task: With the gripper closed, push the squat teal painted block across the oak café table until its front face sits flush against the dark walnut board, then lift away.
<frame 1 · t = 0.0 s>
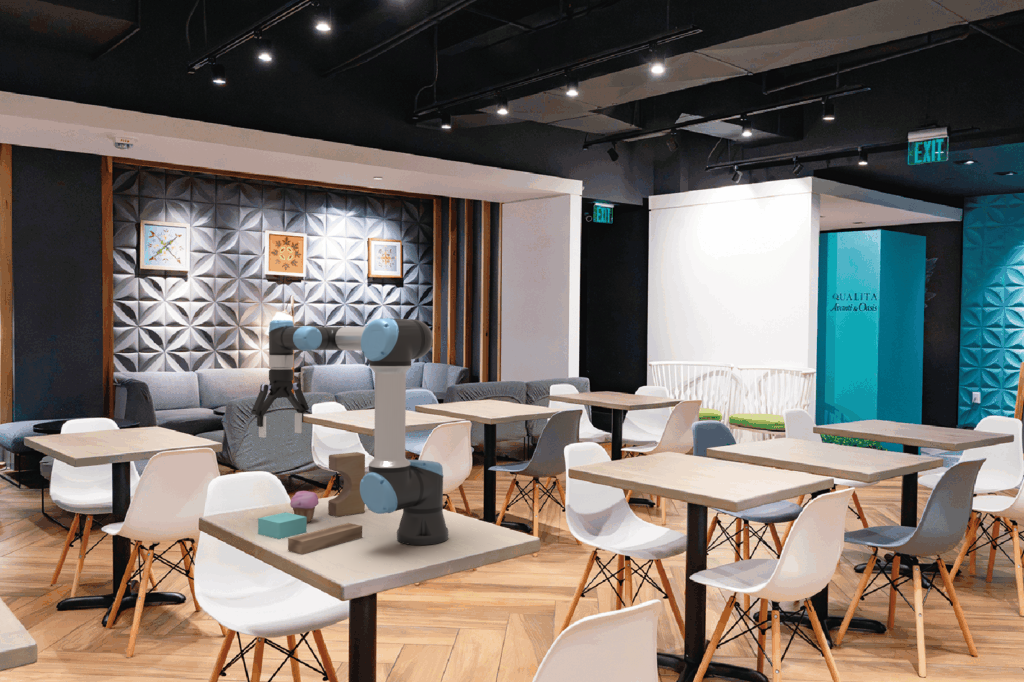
hand: (280, 435, 242), 28 cm above the table, fingers open, 13 cm apart
walnut board: (326, 543, 217), on the table
decorative block: (346, 514, 255), on the table
cupcake: (304, 522, 243), on the table
teal block: (282, 534, 229), on the table
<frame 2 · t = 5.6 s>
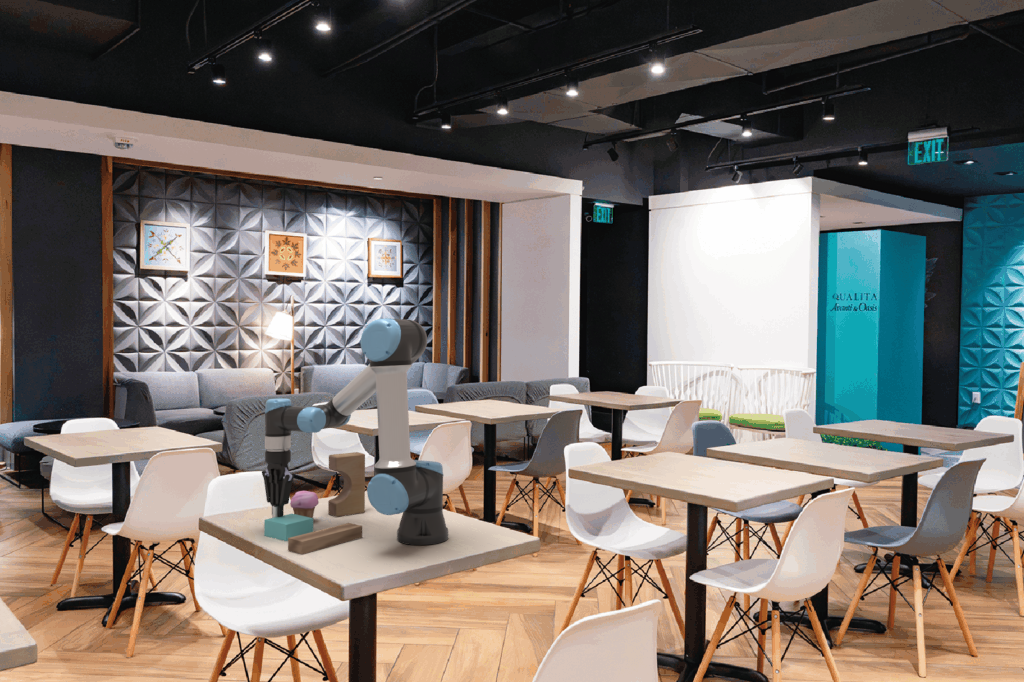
hand: (277, 526, 231), 1 cm above the table, fingers closed
teal block: (288, 535, 227), on the table, touching gripper
everything else where it was.
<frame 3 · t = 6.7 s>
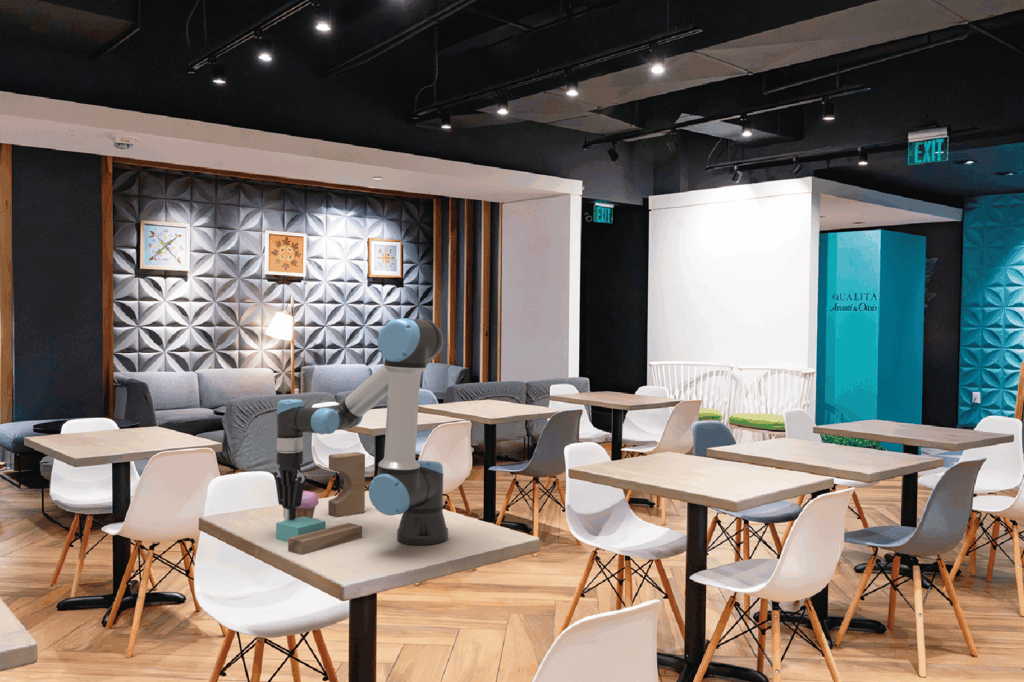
hand: (289, 529, 227), 2 cm above the table, fingers closed
teal block: (300, 538, 224), on the table
everything else where it was.
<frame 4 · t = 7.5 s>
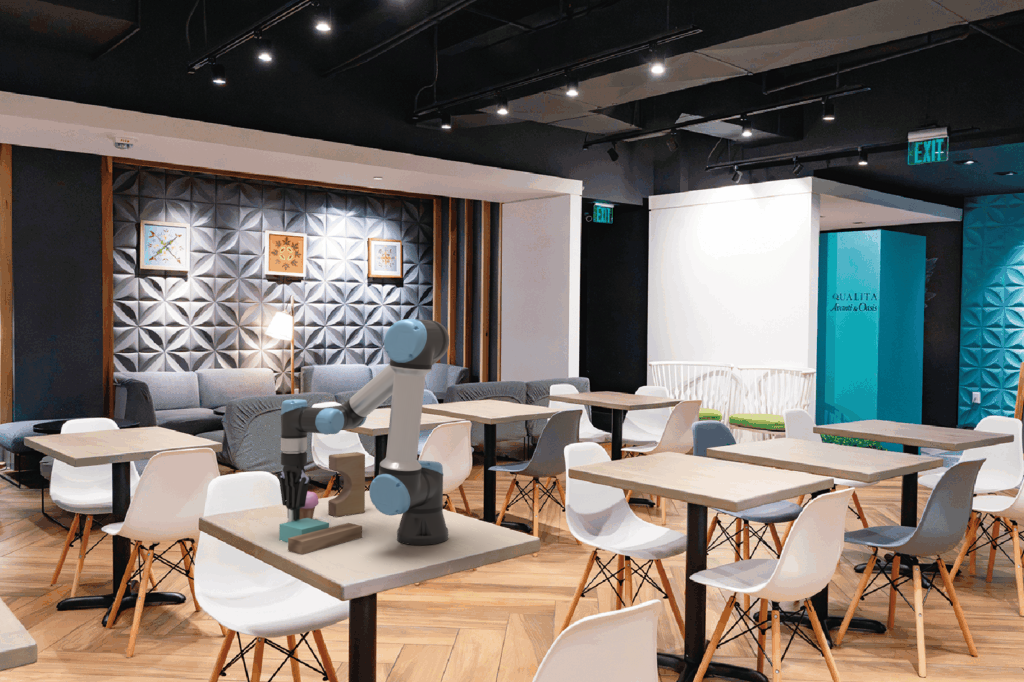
hand: (293, 530, 226), 2 cm above the table, fingers closed
teal block: (304, 540, 222), on the table
everything else where it was.
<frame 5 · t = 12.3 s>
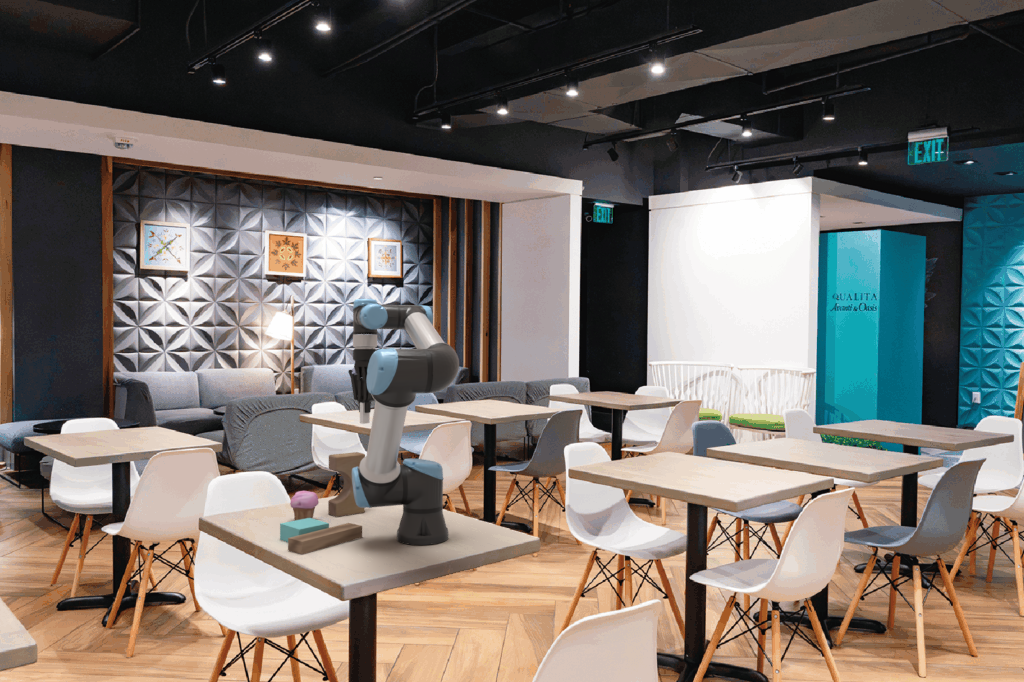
hand: (364, 423, 238), 32 cm above the table, fingers closed
nothing on the table moved.
at the end: teal block inside the target area on the table beside the walnut board (1.0 cm from its centre), on the table; teal block tilted 0°; teal block touching table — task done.
